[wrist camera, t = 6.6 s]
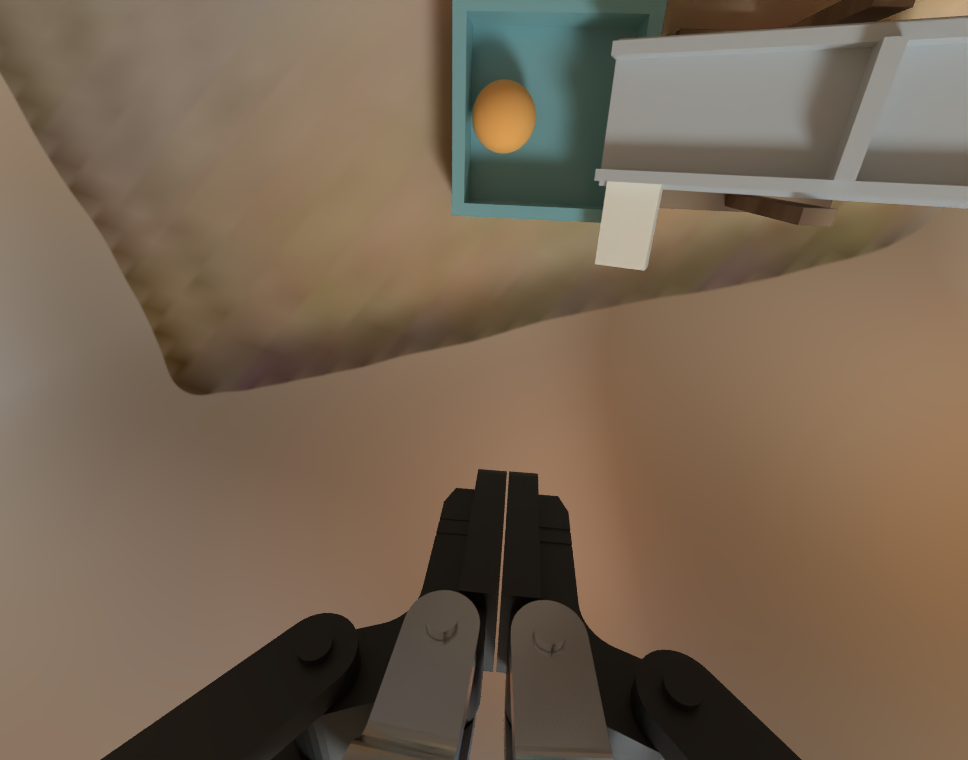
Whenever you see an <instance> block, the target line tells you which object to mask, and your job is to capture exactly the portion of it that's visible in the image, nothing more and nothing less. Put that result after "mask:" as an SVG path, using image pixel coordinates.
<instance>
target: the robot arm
mask: <svg viewBox="0 0 968 760" xmlns="http://www.w3.org/2000/svg"><path fill="white" fill-rule="evenodd" d="M506 475H507V472H506V471H495V470H483V469H479V470H478V474H477V480H476V486H475V490H474V489H462V488H456V489H455V490H454V491H453V492H452V493H451V494H450V496H449V497H448V498H447V499H446V500H445V501H444V504H443V508H442V513H441V517H440V522H439V524H438V528H437V534H436V536H435V540H434V544H433V549H432V552H431V556H430V561H429V564H428V568H427V572H426V576H425V581H424V585H423V589H422V591H421V594H420V596H419V598H418V600H416V601H415V602H414V604H413V605H412V606H411V607H410V609H409V610H408V611H407V612H406V613H405V614H403V615H402V616H400V617H398V618H396V619H394V620H392V621H390V622H386V623H383V624H378V625H374V626H369V627H364V628H360V629H355V627H354V625H353V624H352V623H351V622H350V621H349V620H348V619H347V618H345V617H343V616H341V615H338V614H333V613H322V614H317V615H313V616H310V617H308V618H306V619H304V620H302V621H300V622H299V623H297V624H296V625H294V626H293V627H291V628H290V629H288V630H287V631H285V632H284V633H282V634H281V635H280V636H278V637H277V638H275V639H274V640H273V641H271V642H270V643H268V644H267V645H265V646H264V647H262V648H261V649H260V650H258V651H257V652H255V653H254V654H252V655H251V656H249V657H248V658H247V659H245V660H244V661H242V662H241V663H239V664H238V665H237V666H235V667H234V668H232V669H231V670H229V671H228V672H226V673H225V674H223V675H222V676H221V677H219V678H218V679H216V680H215V681H214V682H212V683H210V684H209V685H208V686H206V687H205V688H203V689H202V690H200V691H199V692H197V693H196V694H195V695H193V696H192V697H190V698H189V699H187V700H186V701H185V702H183V703H182V704H180V705H179V706H177V707H176V708H175V709H173V710H172V711H170V712H169V713H167V714H166V715H164V716H163V717H162V718H160V719H159V720H157V721H156V722H154V723H153V724H152V725H150V726H148V727H147V728H146V729H144V730H143V731H141V732H140V733H138V734H137V735H136V736H134V737H133V738H131V739H130V740H128V741H127V742H125V743H124V744H123V745H121V746H120V747H118V748H117V749H115V750H114V751H112V752H111V753H110V754H108V755H107V756H105V757H104V758H102V759H101V760H469V758H470V752H471V745H472V739H473V734H474V728H475V721H476V713H477V710H478V707H479V705H480V698H481V689H482V678H483V671H490V672H493V665H494V650H495V636H496V623H497V609H498V595H499V581H500V566H501V552H502V538H503V523H504V508H505V506H504V505H505V492H506ZM503 562H504V563H503V576H502V592H501V607H500V624H499V638H498V654H497V670H496V671H497V672H502V673H506V685H505V686H506V687H505V705H504V719H503V721H504V760H801V759H800V758H799V757H798V756H797V755H796V754H795V753H794V752H793V751H792V750H791V749H790V748H789V747H788V746H787V745H786V744H785V743H784V742H782V741H781V740H780V739H779V738H778V737H777V736H776V735H775V734H774V733H773V732H772V731H771V730H770V729H769V728H768V727H767V726H766V725H765V724H764V723H763V722H761V721H760V720H759V719H758V718H757V717H756V716H755V715H754V714H753V713H752V712H751V711H750V710H749V709H748V708H747V707H746V706H745V705H744V704H743V703H741V701H739V700H738V699H737V698H736V697H735V696H734V695H733V694H732V693H731V692H730V691H729V690H728V689H727V688H726V687H725V686H724V685H723V684H722V683H720V681H718V680H717V679H716V678H715V677H714V676H713V675H712V674H711V673H710V672H709V671H708V670H707V669H706V668H705V667H703V666H702V665H701V664H700V663H699V662H697V661H695V660H694V659H693V658H691V657H689V656H687V655H685V654H682V653H680V652H676V651H672V650H657V651H654V652H651V653H649V654H648V655H646V656H645V657H644V658H643V659H640V658H638V657H636V656H633V655H631V654H629V653H626V652H624V651H622V650H619V649H617V648H615V647H613V646H611V645H609V644H607V643H606V642H604V641H603V640H601V639H600V638H599V637H598V636H596V635H595V634H594V633H593V632H592V631H591V629H589V627H588V626H587V624H586V623H585V621H584V619H583V617H582V615H581V612H580V610H579V604H578V596H577V587H576V578H575V569H574V560H573V551H572V542H571V533H570V523H569V514H568V511H567V509H566V508H565V506H564V505H563V503H562V502H561V500H560V499H559V497H558V496H549V495H538V474H535V473H522V472H509V485H508V499H507V515H506V530H505V546H504V561H503Z"/></svg>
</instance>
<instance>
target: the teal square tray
mask: <svg viewBox="0 0 968 760" xmlns="http://www.w3.org/2000/svg"><path fill="white" fill-rule="evenodd" d="M666 6H667V0H452V215H453V216H474V217H494V218H515V219H536V220H556V221H577V222H597V223H601V219H602V213H603V206H604V199H605V192H606V186H599V181H594V179H595V172H596V169H601V165H602V158H603V151H604V144H605V136H606V129H607V122H608V115H609V108H610V100H611V93H612V86H613V79H614V72H615V64H616V59H615V58H613V57H612V56H611V52H612V45H613V41H618V40H619V39H624V38H639V37H655V36H661V35H662V29H663V23H664V17H665V12H666ZM502 79H507V80H512V81H515V82H517V83H519V84H521V85H522V86H523V87H524V88H525V89H526V90H527V91H528V92H529V94H530V95H531V97H532V99H533V102H534V105H535V110H536V122H535V127H534V130H533V132H532V134H531V136H530V138H529V139H528V141H527V142H526V143H525V144H524V145H523V146H522V147H521V148H519V149H518V150H516V151H514V152H511V153H496V152H493V151H491V150H489V149H487V148H486V147H485V146H484V145H483V144H482V143H481V142H480V141H479V139H478V138H477V136H476V134H475V131H474V128H473V123H472V111H473V106H474V103H475V101H476V98H477V97H478V95H479V93H480V92H481V91H482V90H483V89H484V88H485V87H486V86H487V85H488V84H490V83H492V82H494V81H497V80H502Z"/></svg>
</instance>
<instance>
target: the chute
mask: <svg viewBox="0 0 968 760" xmlns="http://www.w3.org/2000/svg"><path fill="white" fill-rule="evenodd" d="M611 56H612V57H613V58H615V59H616V64H615V72H614V79H613V86H612V93H611V100H610V108H609V115H608V122H607V129H606V136H605V144H604V151H603V158H602V165H601V169H596V172H595V179H594V181H599V186H606V192H605V199H604V206H603V213H602V219H601V226H600V233H599V240H598V247H597V254H596V260H595V264H598V265H606V266H613V267H621V268H628V269H636V270H645V269H646V268H647V266H648V261H649V256H650V251H651V246H652V241H653V236H654V231H655V226H656V221H657V216H658V211H659V206H660V201H661V196H662V191H663V190H679V191H695V192H712V193H728V194H744V195H760V196H776V197H792V198H809V199H825V200H841V201H857V202H873V203H889V204H906V205H922V206H938V207H955V208H968V16H956V17H941V18H926V19H911V20H895V21H880V22H865V23H850V24H835V25H820V26H805V27H790V28H775V29H760V30H745V31H730V32H715V33H700V34H685V35H670V36H655V37H639V38H624V39H619V40H618V41H613V45H612V52H611Z"/></svg>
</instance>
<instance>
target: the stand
mask: <svg viewBox="0 0 968 760" xmlns="http://www.w3.org/2000/svg"><path fill="white" fill-rule="evenodd" d="M914 3H915V0H842V1H840V2H838V3H836V4H834V5H832V6H830V7H828V8H826V9H824V10H822V11H820V12H818V13H816V14H814V15H812V16H810V17H808V18H806V19H804V20H802V21H800V22H798V23H796V24H794V25H792V26H790V27H805V26H820V25H835V24H850V23H865V22H876V21H878V20H881V19H883V18H886V17H889V16H891V15H894V14H896V13H899V12H901V11H904V10H906V9H909V8H911V7H913V6H914ZM790 27H788V28H790ZM730 31H745V30H709V29H680V30H679V31H678V32H677V33H676V35H685V34H700V33H715V32H730ZM832 201H833V200H825V199H809V198H792V197H776V196H760V195H744V194H728V193H712V192H695V191H679V190H663V191H662V196H661V201H660V206H659V208H670V209H692V210H713V211H735V212H749V213H753V214H757V215H761V216H765V217H769V218H773V219H777V220H781V221H785V222H789V223H793V224H797V225H810V226H831V227H832V224H833V222H834V219H835V216H836V214H837V211H838V209H833V208H830V206H831V203H832Z"/></svg>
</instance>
